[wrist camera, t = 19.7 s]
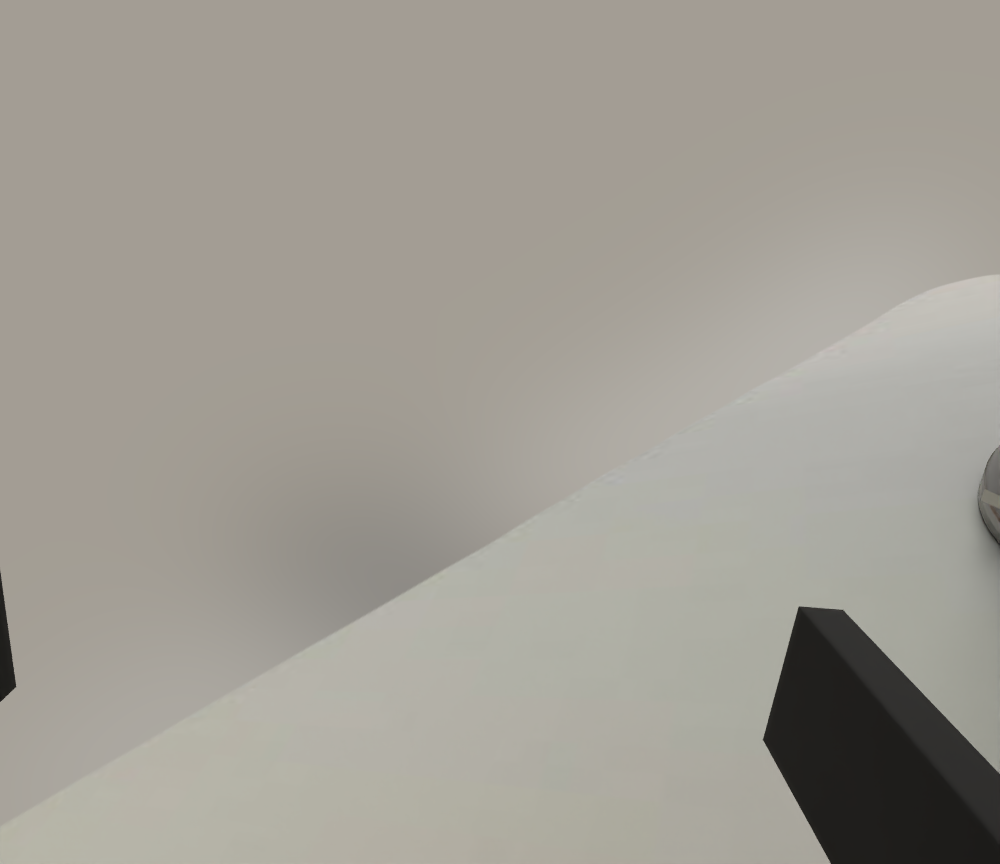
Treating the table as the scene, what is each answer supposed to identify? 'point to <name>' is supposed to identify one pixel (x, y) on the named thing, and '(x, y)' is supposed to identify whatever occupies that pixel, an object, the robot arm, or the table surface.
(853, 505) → the table surface
